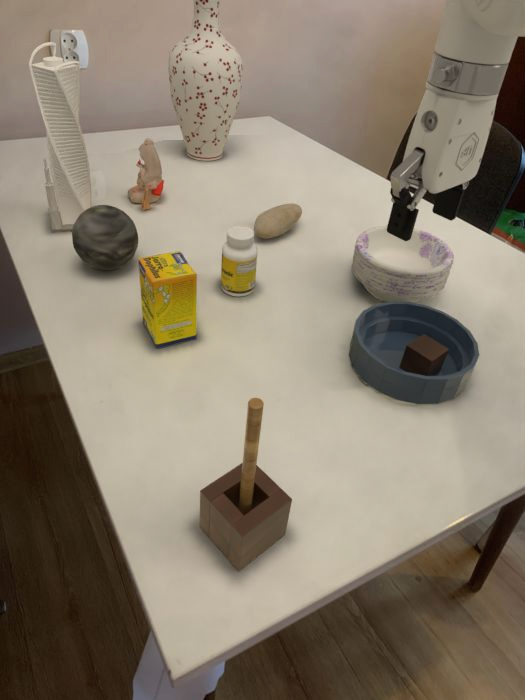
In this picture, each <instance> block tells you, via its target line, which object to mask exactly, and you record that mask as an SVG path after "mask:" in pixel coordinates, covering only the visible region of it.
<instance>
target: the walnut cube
mask: <svg viewBox="0 0 525 700" xmlns="http://www.w3.org/2000/svg"><path fill="white" fill-rule="evenodd" d="M448 351H449V349H448V348H446V347H445V346H443V345H441V344H440V343H438V342H436V341H435V340H433V339H432V338H430V337H428V336H427V335H425V334H423V335H422V336H420V337H418V338H417V339H415V340H414V341H412V342H411V343H409V344H408V345H407V346H406V349H405V352H404V355H403V358H402V361H401V364H400V367H399V368H401V369H402V370H404V371H405V372H409V373H414V374H419V375H424V376H435V375H436V374H437V373H439V372H440V371H441V368H442V366H443V363H444V361H445V358H446V356H447V353H448Z"/></svg>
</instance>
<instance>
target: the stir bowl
mask: <svg viewBox="0 0 525 700" xmlns="http://www.w3.org/2000/svg"><path fill="white" fill-rule="evenodd" d="M423 334H425V335H427V336H428V337H430V338H432V339H433V340H435V341H436V342H438V343H440V344H441V345H443V346H445V347H446V348H448V349H449V351H448V353H447V356H446V358H445V361H444V363H443V366H442V368H441V371H440V372H439V373H437V374H436V375H435V376H424V375H419V374H414V373H409V372H405V371H404V370H402V369H401V368H399V367H400V364H401V361H402V358H403V355H404V352H405V349H406V346H407V345H408V344H409V343H411V342H412V341H414V340H415V339H417V338H418V337H420V336H422V335H423ZM348 349H349V350H348V359H349V362H350V365H351V367H352V369H353V371H355V373H356V374H357V375H358V377H359V378H360V379H361V381H363V382H364V383H365V384H367V385H368V386H369V387H371V388H372V389H374V390H375V392H377V393H379V394H382V395H383V396H387V397H389V398H391V399H393V400H396V401H399V402H404V403H410V404H415V405H438V404H439V405H440V404H442V403H446V402H448V401H452V400H454V399H455V398H457V397H458V396H459V395H461V394H462V393H463V392H464V391H465V389H466V387H467V385H468V383H469V380H470V378H471V376H472V373H473V371H474V369H475V367H476V364H477V362H478V360H479V357H480V351H479V349H480V348H479V344H478V341H477V340H476V338H475V336H474V335H473V334H472V332H471V331H470V329H468V327H466V326H465V325H464V324H463V323H462V322H461V321H460V320H458V319H457V318H455V317H453V316H451V315H450V314H448V313H446V312H445V311H442V310H439V309H437V308H434V307H432V306H429V305H426V304H422V303H418V302H415V303H412V302H397V301H389V302H386V301H383V302H380V303H376V304H375V303H374V304H373V305H371V306H369V307H368V308H365V309H364V310H362V311H361V313H360V314H359V316H358V317H357V318H356V319H355V323H354V326H353V331H352V335H351V339H350V343H349V348H348Z"/></svg>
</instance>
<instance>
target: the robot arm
mask: <svg viewBox="0 0 525 700" xmlns="http://www.w3.org/2000/svg"><path fill="white" fill-rule="evenodd" d="M519 37H522V38H525V0H446V3H445V7H444V11H443V15H442V18H441V22H440V26H439V30H438V34H437V38H436V42H435V46H434V49H433V50H434V51H433V54H432V57H431V62H430V66H429V70H428V74H427V78H426V81H425V88H426V89H425V92H424V94H423V97H422V100H421V102H420V104H419V108H418V109H417V112H416V115H415V118H414V121H413V124H412V126H411V127H412V128H411V131H410V134H409V136H408V140H407V144H406V147H405V151H404V155H403V159H402V162H401V163H399V165H398V166H397V167H396V168H395V169H394V170H393V171H392V172H391V174H390V177H389V179H390V189H389V192H390V196H391V200H390V201H391V203H392V207H391V210H390V214H389V217H388V223H387V225H386V226H387V232H388V233H390V234H392V235H394V236H396V237H398V238H400V239H402V240H404V241H408V240H410V239H411V236H412V233H413V229H415V225H416V222H417V218H418V215H419V211H420V209H418V208H417V207H418V205H419V203H421V201H422V199H423V197H424V196H425V194H426V193H427V191H428V193H430V194H433V195H436V197H435V201H434V202H433V207H432V211H431V212H432V213H433V214H435V215H437V216H440V217H442V218H444V219H446V220H448V221H454V220H455V219H457V215H458V212H459V209H460V206H461V203H462V200H463V197H464V194H465V190H466V189H467V187H468V186H469V185H470V181H471V180H473V178H475V177H476V175H477V174H478V172H479V169H480V166H481V162H482V160H483V156H484V153H485V149H486V146H487V142H488V139H489V137H490V132H491V129H492V124H493V121H494V117H495V111H496V105H497V100H498V98H499V94H500V90H501V88H502V86H503V82H504V79H505V76H506V74H507V73H506V72H507V70H508V67H509V64H510V61H511V59H512V56H513V55H512V54H513V51H514V49H515V46H516V43H517V40H518V39H519ZM419 179H421V180H419ZM409 187H412V188H414V189H416V190H415V192H414V193H413V194H411V192H410V190H409Z"/></svg>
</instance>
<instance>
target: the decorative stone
mask: <svg viewBox="0 0 525 700" xmlns="http://www.w3.org/2000/svg"><path fill="white" fill-rule="evenodd" d="M71 239H72V246H73V249H74V251H75V252H76V254H77V256H78V257H79V259H81V261H83V263H85V264H87V265H88V266H89V267H92V268H94V269H96V270H100V271H112V270H113V271H114V270H117V269H120V268H122V267H124V266H126V265H127V264H128V263H129V262H130V261H131V260H132V259H133V258H134V256H135V254H136V252H137V250H138V246H139V233H138V230H137V227H136V224H135V222H134V220H133V218H131V216H129V215H128V214H127V213H126V212H125V211H124V210H122V209H120V208H119V207H116V206H113V205H110V204H97V205H92V207H91V208H88V209H87V210H85V211H84V212H82V213H81V214H80V215H79V217H78V218H77V220H76V221H75V223H74V226H73V229H72V231H71Z"/></svg>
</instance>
